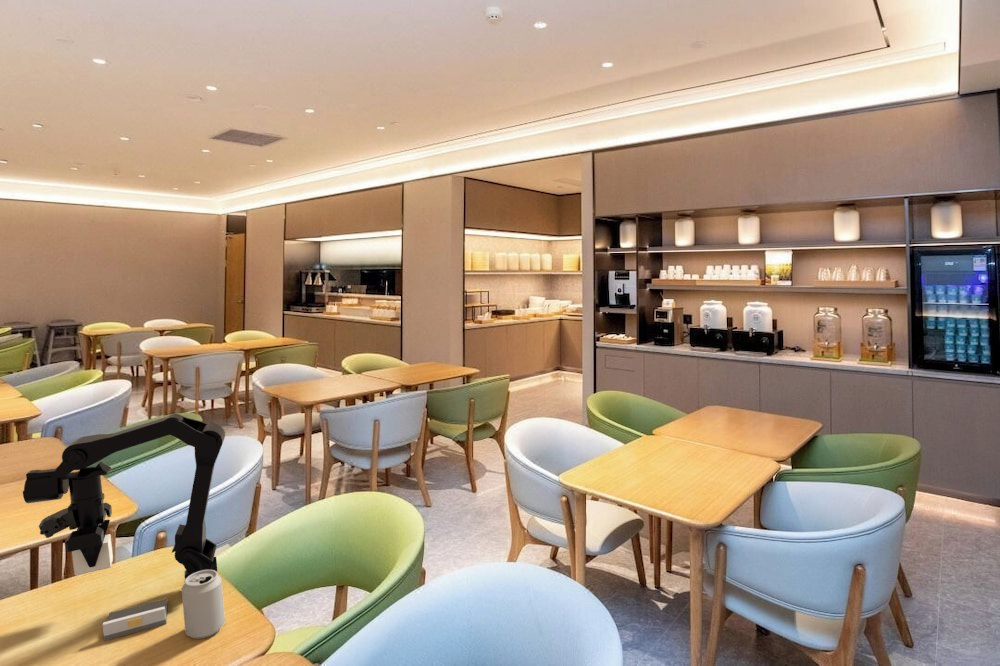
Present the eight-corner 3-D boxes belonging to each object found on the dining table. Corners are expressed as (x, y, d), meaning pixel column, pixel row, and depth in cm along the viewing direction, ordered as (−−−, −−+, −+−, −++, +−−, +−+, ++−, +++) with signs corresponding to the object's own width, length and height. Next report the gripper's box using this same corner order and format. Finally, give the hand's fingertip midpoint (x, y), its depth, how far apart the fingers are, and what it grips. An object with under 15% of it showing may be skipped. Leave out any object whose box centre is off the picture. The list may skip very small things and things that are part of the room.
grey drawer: (167, 602, 130) (166, 588, 130) (165, 624, 122) (164, 609, 121) (109, 617, 125) (108, 602, 124) (104, 641, 117) (102, 625, 116)
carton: (113, 558, 131) (110, 534, 130) (110, 567, 127) (107, 542, 126) (77, 566, 127) (74, 541, 127) (73, 576, 124) (70, 550, 123)
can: (209, 643, 116) (204, 588, 114) (177, 639, 117) (172, 584, 116) (233, 620, 123) (228, 568, 121) (202, 616, 124) (198, 565, 123)
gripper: (49, 488, 129) (57, 552, 131) (29, 520, 113) (38, 593, 115) (108, 478, 135) (115, 540, 137) (97, 507, 118) (105, 577, 120)
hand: (94, 561), depth 127 cm, fingers closed on carton, 4 cm apart
